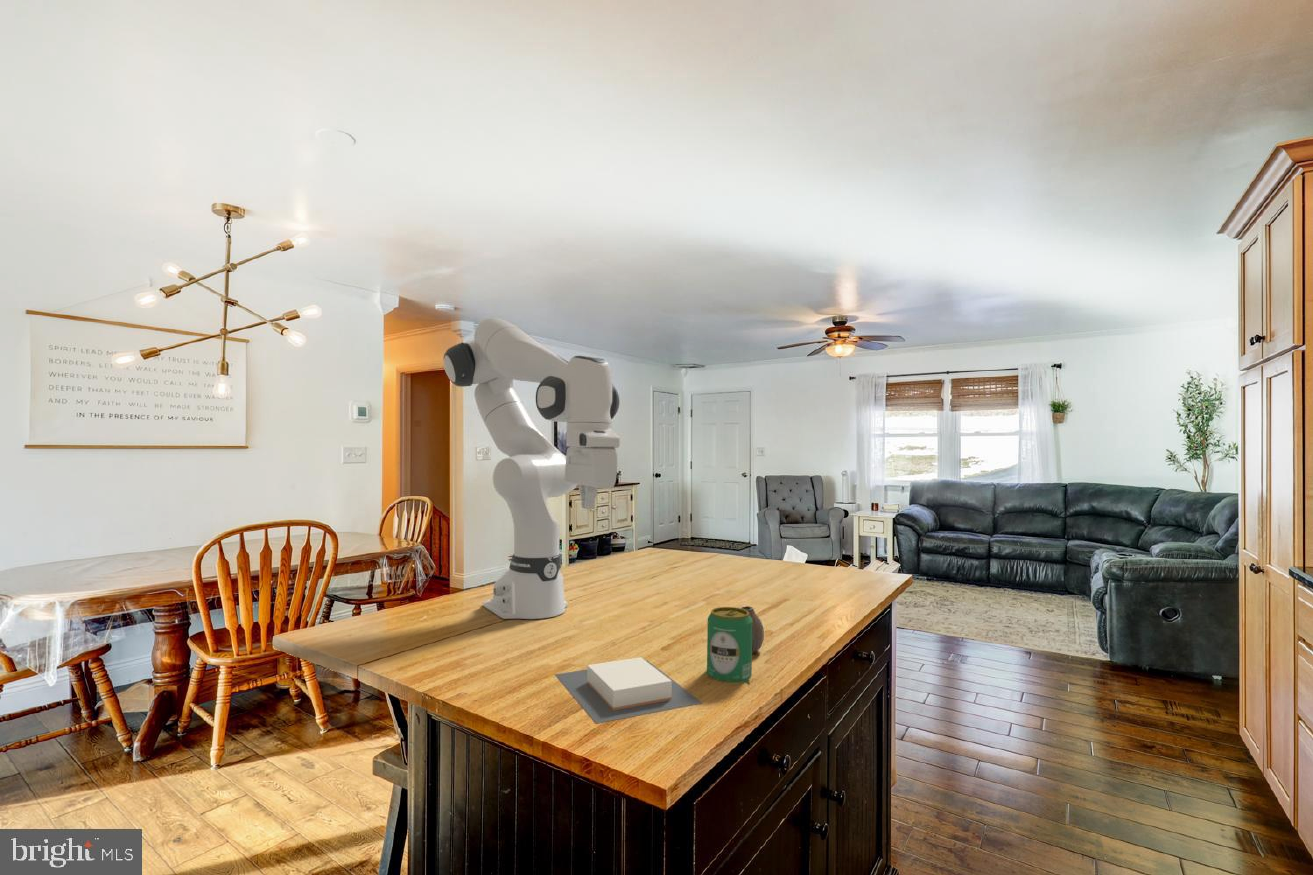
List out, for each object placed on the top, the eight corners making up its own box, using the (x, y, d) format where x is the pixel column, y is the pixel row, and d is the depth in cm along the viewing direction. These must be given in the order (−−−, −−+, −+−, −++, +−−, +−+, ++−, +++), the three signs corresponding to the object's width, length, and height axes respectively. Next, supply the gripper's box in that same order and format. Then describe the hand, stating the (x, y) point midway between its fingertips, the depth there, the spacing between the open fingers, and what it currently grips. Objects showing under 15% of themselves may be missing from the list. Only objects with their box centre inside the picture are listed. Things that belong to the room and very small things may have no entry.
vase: (722, 650, 126) (723, 607, 126) (742, 642, 131) (742, 601, 131) (751, 658, 121) (751, 614, 121) (770, 650, 126) (770, 607, 127)
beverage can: (700, 682, 109) (701, 614, 109) (714, 668, 116) (715, 604, 116) (744, 690, 105) (745, 620, 106) (756, 675, 113) (757, 609, 113)
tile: (587, 664, 105) (613, 690, 94) (640, 657, 109) (671, 680, 99) (587, 682, 105) (613, 710, 94) (640, 674, 109) (671, 699, 99)
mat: (554, 679, 109) (554, 674, 109) (647, 665, 116) (647, 660, 116) (595, 730, 90) (595, 723, 90) (702, 709, 98) (703, 702, 98)
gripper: (558, 438, 129) (556, 504, 129) (591, 437, 110) (589, 514, 110) (586, 438, 131) (585, 503, 131) (623, 438, 113) (622, 513, 113)
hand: (587, 508), depth 121 cm, fingers closed
